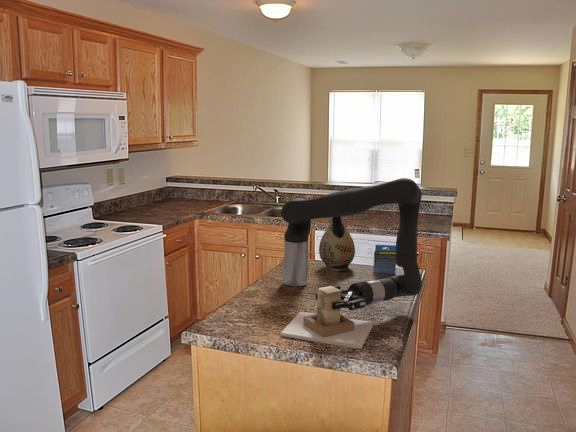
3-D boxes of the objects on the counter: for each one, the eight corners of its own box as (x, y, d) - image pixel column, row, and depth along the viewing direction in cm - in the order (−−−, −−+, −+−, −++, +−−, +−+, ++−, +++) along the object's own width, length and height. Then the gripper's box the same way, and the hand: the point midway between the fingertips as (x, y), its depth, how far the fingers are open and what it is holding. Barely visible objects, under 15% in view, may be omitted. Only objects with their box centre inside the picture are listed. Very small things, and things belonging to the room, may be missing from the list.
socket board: (280, 335, 149) (281, 324, 148) (300, 314, 165) (300, 304, 165) (361, 349, 141) (361, 337, 140) (373, 325, 157) (373, 314, 157)
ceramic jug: (317, 263, 225) (319, 196, 220) (352, 263, 225) (355, 197, 219) (319, 274, 209) (321, 202, 203) (356, 275, 208) (359, 203, 203)
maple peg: (316, 325, 154) (317, 288, 152) (330, 322, 156) (331, 285, 154) (325, 331, 150) (327, 293, 147) (339, 328, 152) (341, 290, 150)
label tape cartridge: (394, 271, 215) (395, 243, 212) (395, 274, 211) (397, 245, 208) (373, 270, 215) (374, 242, 213) (373, 273, 212) (375, 244, 209)
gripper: (353, 275, 164) (311, 282, 156) (382, 288, 152) (338, 296, 144) (352, 297, 165) (310, 305, 157) (381, 311, 153) (337, 321, 145)
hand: (324, 301), depth 150 cm, fingers open, 8 cm apart
